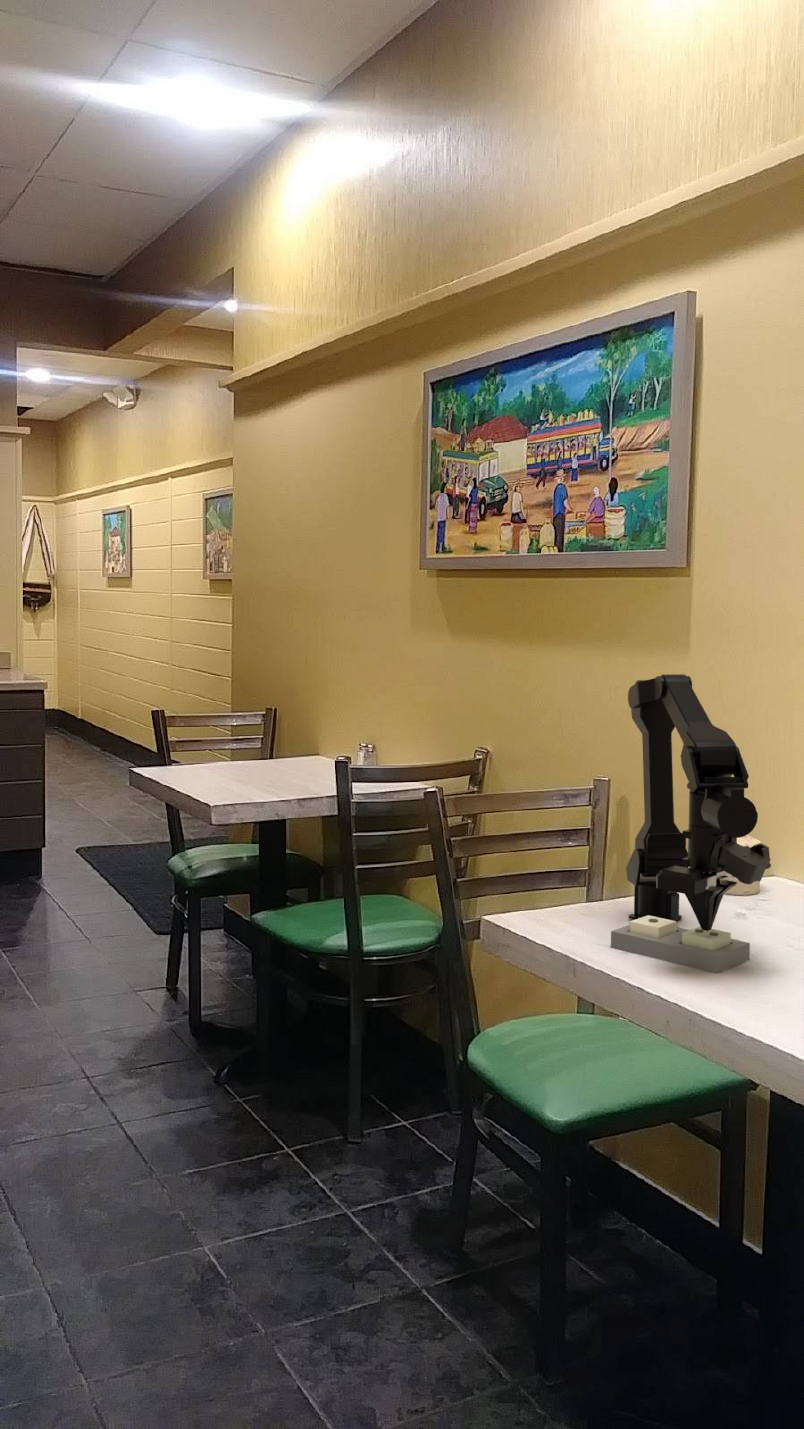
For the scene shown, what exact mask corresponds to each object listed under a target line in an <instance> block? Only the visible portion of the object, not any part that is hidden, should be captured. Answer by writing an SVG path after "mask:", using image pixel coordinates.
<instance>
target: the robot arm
mask: <svg viewBox="0 0 804 1429" xmlns="http://www.w3.org/2000/svg"><path fill="white" fill-rule="evenodd" d="M627 702H628V703H627V704H628V706H629V708H630V709H631V711H630V712H631V719H632V720H633V722H634V724H635V725H636V727H637V729H638V730H639V731H640V733H641V738H642V766H643V767H642V770H643V772H642V773H643V776H642V777H643V804H644V806H643V807H644V823H643V824H642V826H641V828H640V830H639V832H638V833H637V835H635V836H636V837H635V839H634V840H635V842H634V849H633V851H632V853H631V855H630V858H629V860H628V863H627V864H626V868H625V869H626V870H625V871H626V880H627V881H628V882H629V883H631V884H632V885H633V886H634V890H633V891H634V892H633V893H634V897H633V898H634V900H633V913H631V914H629V915H628V919H629V920H632V921H633V920H635V919H638V918H641V917H644V916H647V915H649V916H654V917H659V918H664V919H668V920H673V921H678V920H681V919H682V918H683V915H681V914H680V894H684V895H685V897H686V899H687V900H688V902H689V905H690V907H691V908H692V911H693V913H694V916H695V917H696V918H695V919H696V920H697V922H698V924H699V927H700V926H701V929H702V930H705V931H709V930H711V929H713V925H714V922H715V921H716V916H717V913H718V911H719V908H720V904H721V902H722V900H723V897H724V895H726V894H725V893H726V892H727V891H728V890H729V889H731V888H732V887H734V886H735V885H736V884H737V882H733V881H729V876H727V873H729V874H730V875H732V876H734V877H736V878H737V879H738V880H739V881H740V882H742V883H744V884H752V883H753V882H755V881H760V882H762V878H763V877H764V874H765V872H766V870H769V869H770V868H771V867H772V864H771V859H772V858H771V857H770V856H771V855H770V847H769V846H767V845H765V844H764V843H762V842H761V843H759V844H756V845H754V846H753V847H751V848H750V849H749V847H748V846H741V845H739V844H737V838H740V837H744V836H746V835H749V834H750V833H751V832H753V830H754V829H755V827H756V826H757V823H758V818H759V816H758V814H759V813H758V812H757V808H756V805H755V804H754V803H753V802H752V800H750V799H749V798H747V797H745V789H748V788H749V782H748V781H749V780H748V779H749V777H750V776H749V773H748V770H747V768H746V765H745V762H744V759H743V757H742V754H741V751H740V749H739V747H738V746H737V744H736V742H735V741H734V739H733V738H732V737H731V736H730V735H729V734H728V732H727V731H725V730H723V729H721V728H719V727H717V726H715V725H714V724H713V723H712V721H711V720H710V718H709V715H708V714H707V713H706V711H705V709H704V707H703V705H702V703H701V701H700V700H699V698H698V696H697V694H696V692H695V691H694V689H693V680H692V678H691V677H690V675H686V674H685V673H684V674H683V673H681V674H677V673H674V674H673V673H671V674H669V673H667V674H663V673H662V674H661V675H659V676H658V675H657V676H656V677H654V678H650V679H637V680H636V681H635V682H634V684H633V685H631V686H630V687H629V689H628V692H627ZM674 729H676V731H677V733H678V736H679V737H680V739H681V742H682V743H683V745H682V749H681V753H680V763H681V766H682V769H683V772H684V775H685V776H686V777H685V778H686V779H687V780H688V782H687V784H686V788H687V790H688V789H689V796H688V799H689V800H688V828H687V829H685V830H682V832H681V831H680V829H679V827H678V826H677V824H676V823H675V811H674V807H675V806H674V803H675V802H674V780H673V779H674V777H673V774H674V773H673V741H672V737H673V736H672V735H673V734H672V733H673V731H674ZM687 842H688V843H687ZM687 845H688V846H687Z"/></svg>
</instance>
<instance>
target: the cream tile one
mask: <svg viewBox="0 0 804 1429" xmlns="http://www.w3.org/2000/svg"><path fill="white" fill-rule="evenodd" d="M677 921H678V920H676V921H673V920H668V919H664V918H659V917H654V916H649V915H647V916H644V917H641V918H638V919H635V920H633V919H632V920H629V925H630V932H632V933H637V934H641V935H645V936H650V937H654V938H658V939H660V938H662V937H665V936H668V935H671V934H673V933H676V927H678V926H677V925H678V924H677Z"/></svg>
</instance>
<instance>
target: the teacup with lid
mask: <svg viewBox="0 0 804 1429" xmlns="http://www.w3.org/2000/svg"><path fill="white" fill-rule="evenodd" d="M759 843H762V841H760V840H759V839H757V838H756V837H752V836H750V835H749V834H748V835H746V836H744V837H740V838H737V844H739V845H741V846H748V847H749V849H750V848H751V847H753V846H754V845H756V844H759ZM727 876H729V881H733V882H737V884H736V885H735V886H734V887H732V888H731V889H729V890H728V891H727V892H726V893H725V894H724V895H731V896H751V895H755V894H758V893H759V892H760V891H761V890H760V888H761V887H760V886H761V881H755V882H753V883H752V884H744V883H742V882H740V881H739V880H738V879H737V878H736V877H734V876H732V875H730V874H729V873H727Z"/></svg>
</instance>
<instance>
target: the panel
mask: <svg viewBox="0 0 804 1429" xmlns="http://www.w3.org/2000/svg"><path fill="white" fill-rule="evenodd" d="M689 930H690V929H687V928H684V927H678V926H677V927H676V933H673V934H671V935H668V936H665V937H662V938H660V939H658V938H654V937H650V936H645V935H641V934H637V933H632V932H630V924H628V925H625V926H623V927H619V928H616V929H612V930H610V948H612V949H617V950H620V951H625V952H629V953H632V954H637V955H642V956H645V957H650V958H654V959H658V960H661V961H666V962H668V963H669V962H671V963H674V964H679V965H682V966H688V967H691V968H695V969H699V970H703V971H707V972H712V973H715V974H720V973H722V972H724V971H726V970H729V969H731V968H733V967H736V966H738V965H740V964H742V963H745V962H747V961H750V948H751V947H750V945H751V944H750V942H747V941H742V940H739V939H733V938H731V940H730V945H728V946H726V947H723V948H721V949H718V950H716V951H711V950H706V949H702V948H698V947H693V946H689V945H685V944H682V933H683V932H686V931H689Z"/></svg>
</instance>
